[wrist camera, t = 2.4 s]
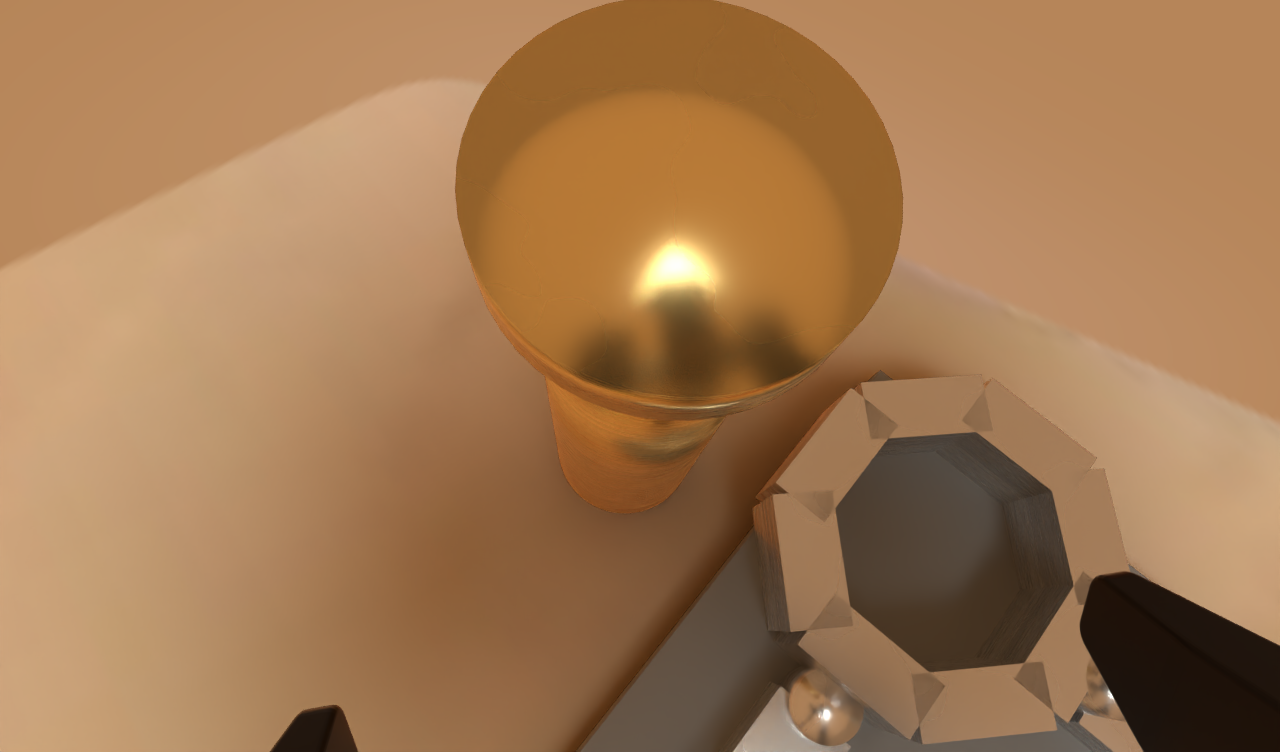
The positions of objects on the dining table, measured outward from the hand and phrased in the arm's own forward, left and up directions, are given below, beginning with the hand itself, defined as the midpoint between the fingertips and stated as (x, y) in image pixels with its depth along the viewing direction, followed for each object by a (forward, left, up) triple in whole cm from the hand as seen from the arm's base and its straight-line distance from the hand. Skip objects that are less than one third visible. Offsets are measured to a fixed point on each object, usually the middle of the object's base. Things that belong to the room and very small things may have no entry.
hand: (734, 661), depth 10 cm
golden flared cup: (+3, +4, -12) cm, 13 cm away
